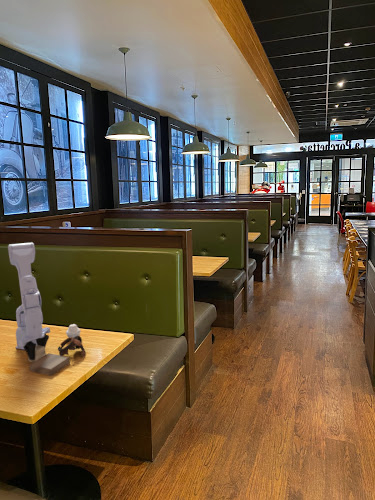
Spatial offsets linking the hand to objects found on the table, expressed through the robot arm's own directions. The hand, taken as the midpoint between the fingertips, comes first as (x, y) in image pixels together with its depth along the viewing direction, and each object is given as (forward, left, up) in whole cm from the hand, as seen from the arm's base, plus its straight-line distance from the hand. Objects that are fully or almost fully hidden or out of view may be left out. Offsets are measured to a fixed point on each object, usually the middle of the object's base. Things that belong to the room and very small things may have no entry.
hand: (37, 356), depth 147 cm
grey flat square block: (+9, -3, -2) cm, 10 cm away
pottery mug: (+10, +9, -2) cm, 14 cm away
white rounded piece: (+1, +21, -2) cm, 21 cm away
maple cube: (0, 0, -1) cm, 1 cm away
